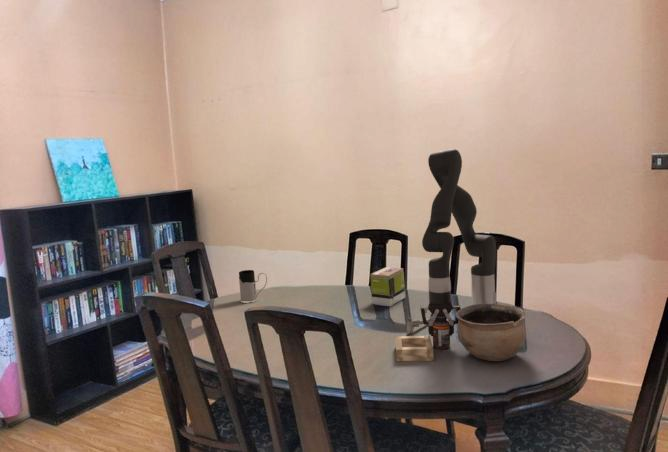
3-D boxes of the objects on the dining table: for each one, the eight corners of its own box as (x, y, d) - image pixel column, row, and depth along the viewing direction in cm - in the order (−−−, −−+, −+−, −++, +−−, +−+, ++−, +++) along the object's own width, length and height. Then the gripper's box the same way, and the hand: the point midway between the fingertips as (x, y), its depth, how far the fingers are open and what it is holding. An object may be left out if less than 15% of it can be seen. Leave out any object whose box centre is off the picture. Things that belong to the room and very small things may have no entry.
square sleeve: (430, 346, 171) (429, 335, 171) (433, 360, 159) (433, 348, 159) (395, 347, 172) (395, 336, 172) (396, 361, 161) (396, 349, 160)
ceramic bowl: (518, 375, 145) (517, 327, 143) (447, 363, 157) (446, 318, 155) (532, 349, 164) (531, 306, 162) (468, 339, 175) (467, 299, 173)
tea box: (387, 295, 237) (386, 266, 235) (405, 298, 231) (404, 267, 229) (371, 304, 225) (369, 273, 223) (390, 307, 219) (388, 275, 217)
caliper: (409, 335, 183) (408, 319, 182) (406, 335, 184) (406, 319, 183) (437, 320, 198) (437, 305, 197) (435, 320, 199) (435, 305, 198)
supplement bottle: (430, 343, 173) (429, 313, 172) (447, 342, 174) (446, 311, 172) (435, 350, 167) (434, 318, 166) (452, 348, 168) (451, 317, 166)
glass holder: (240, 299, 247) (238, 270, 245) (268, 296, 248) (266, 268, 246) (239, 304, 238) (236, 274, 236) (268, 301, 239) (266, 272, 237)
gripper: (459, 285, 171) (460, 331, 173) (417, 286, 172) (419, 331, 175) (462, 291, 163) (463, 338, 166) (419, 292, 165) (421, 339, 167)
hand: (441, 335), depth 170 cm, fingers closed on supplement bottle, 6 cm apart
